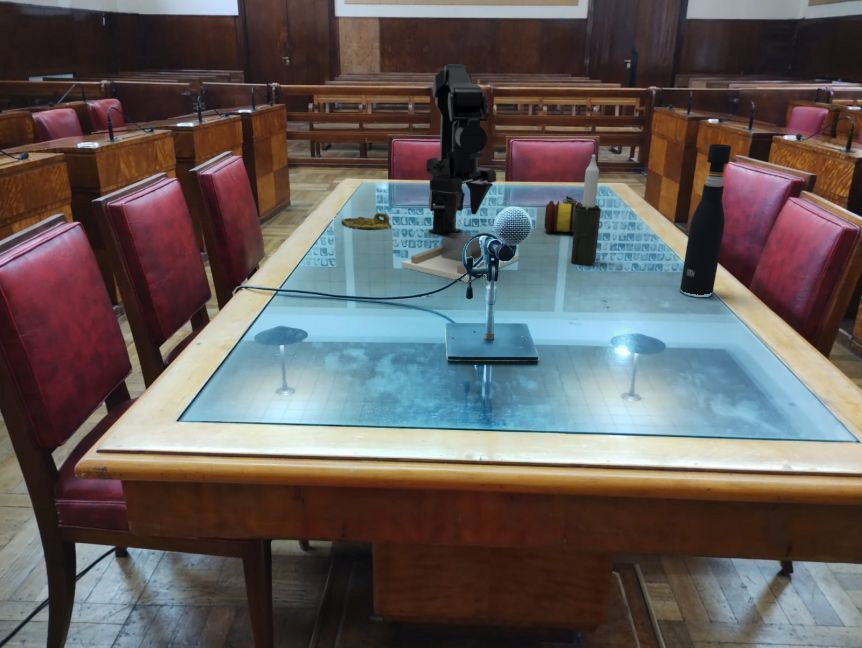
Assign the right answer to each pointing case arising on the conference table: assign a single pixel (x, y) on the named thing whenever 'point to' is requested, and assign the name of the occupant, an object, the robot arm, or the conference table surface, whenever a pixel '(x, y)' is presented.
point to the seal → (368, 222)
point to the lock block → (459, 247)
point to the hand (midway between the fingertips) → (462, 217)
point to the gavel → (561, 215)
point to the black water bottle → (706, 228)
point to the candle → (587, 220)
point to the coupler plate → (441, 264)
